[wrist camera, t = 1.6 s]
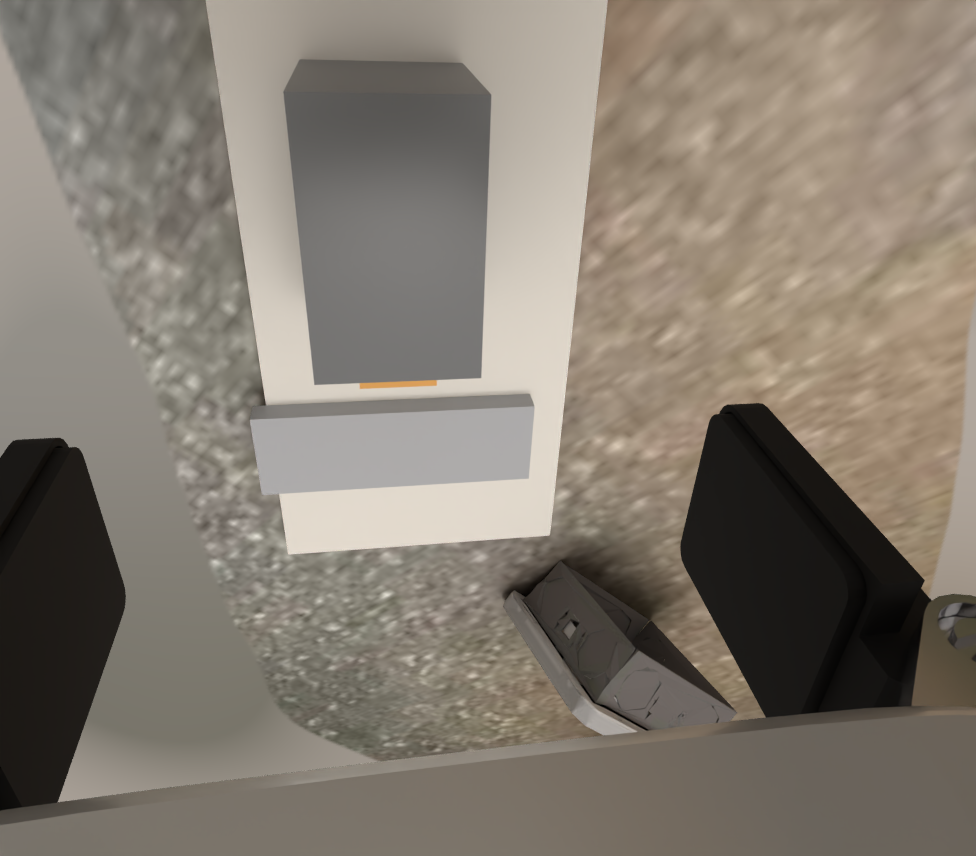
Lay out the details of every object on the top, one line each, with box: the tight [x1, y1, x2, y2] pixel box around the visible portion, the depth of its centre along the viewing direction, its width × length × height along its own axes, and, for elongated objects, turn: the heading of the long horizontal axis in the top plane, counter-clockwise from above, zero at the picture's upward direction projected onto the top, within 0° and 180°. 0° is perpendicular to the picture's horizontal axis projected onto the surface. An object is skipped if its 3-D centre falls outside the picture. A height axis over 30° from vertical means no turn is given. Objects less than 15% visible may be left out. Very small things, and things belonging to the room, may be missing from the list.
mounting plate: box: [206, 0, 608, 554], centre depth 28 cm, size 12×22×2 cm, turn 178°
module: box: [283, 59, 491, 389], centre depth 23 cm, size 5×9×6 cm, turn 178°
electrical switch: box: [503, 560, 737, 736], centre depth 36 cm, size 9×5×9 cm, turn 46°
